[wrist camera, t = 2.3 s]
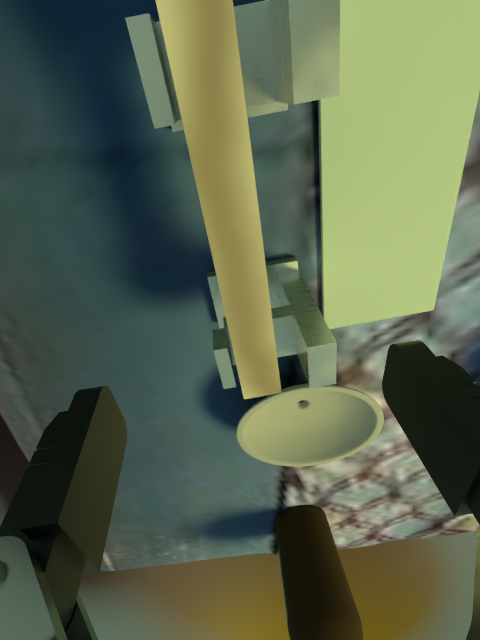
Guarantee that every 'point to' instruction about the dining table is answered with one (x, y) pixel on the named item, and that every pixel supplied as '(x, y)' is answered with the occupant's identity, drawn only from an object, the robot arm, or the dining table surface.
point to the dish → (309, 425)
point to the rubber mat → (394, 153)
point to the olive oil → (314, 578)
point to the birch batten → (224, 176)
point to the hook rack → (261, 98)
